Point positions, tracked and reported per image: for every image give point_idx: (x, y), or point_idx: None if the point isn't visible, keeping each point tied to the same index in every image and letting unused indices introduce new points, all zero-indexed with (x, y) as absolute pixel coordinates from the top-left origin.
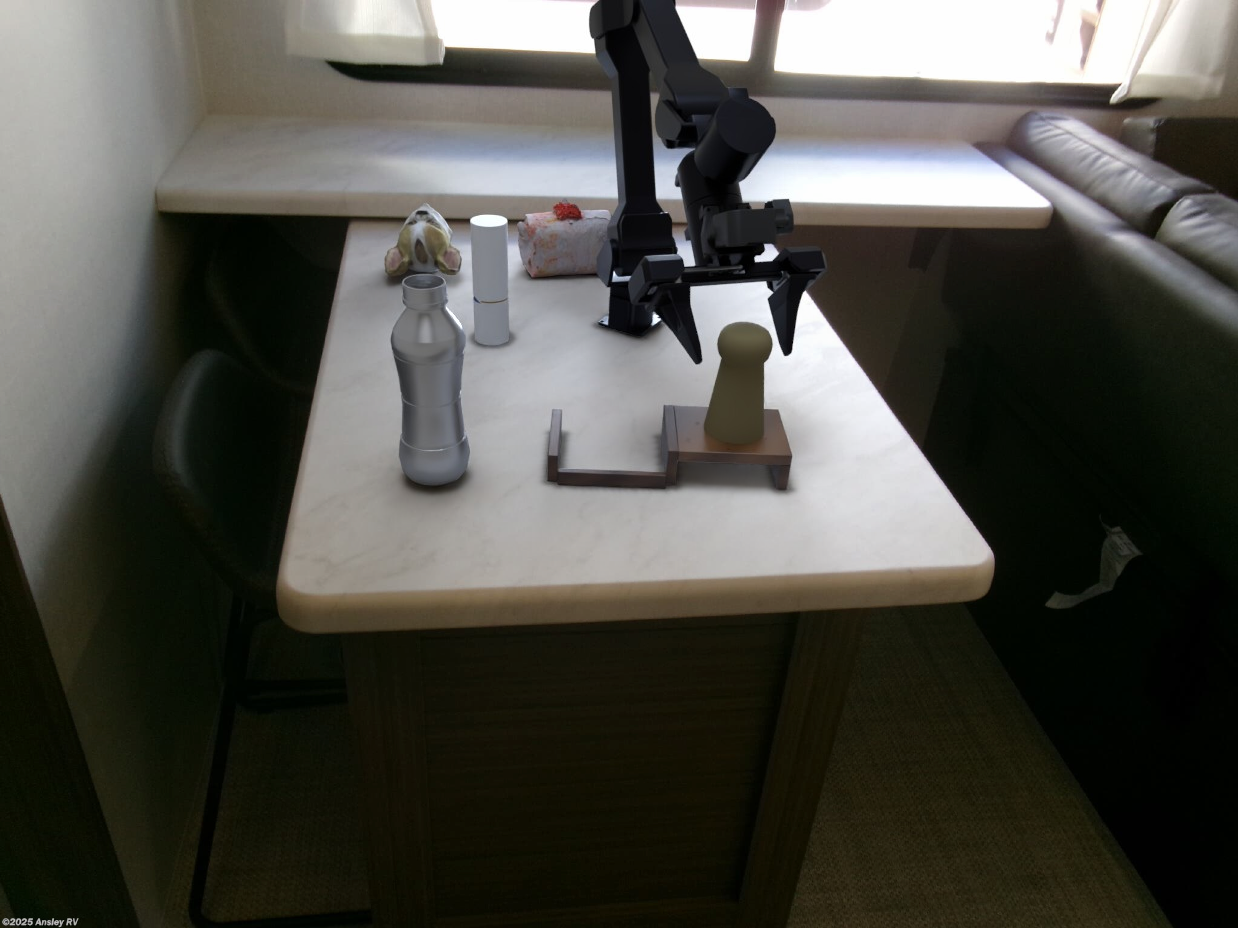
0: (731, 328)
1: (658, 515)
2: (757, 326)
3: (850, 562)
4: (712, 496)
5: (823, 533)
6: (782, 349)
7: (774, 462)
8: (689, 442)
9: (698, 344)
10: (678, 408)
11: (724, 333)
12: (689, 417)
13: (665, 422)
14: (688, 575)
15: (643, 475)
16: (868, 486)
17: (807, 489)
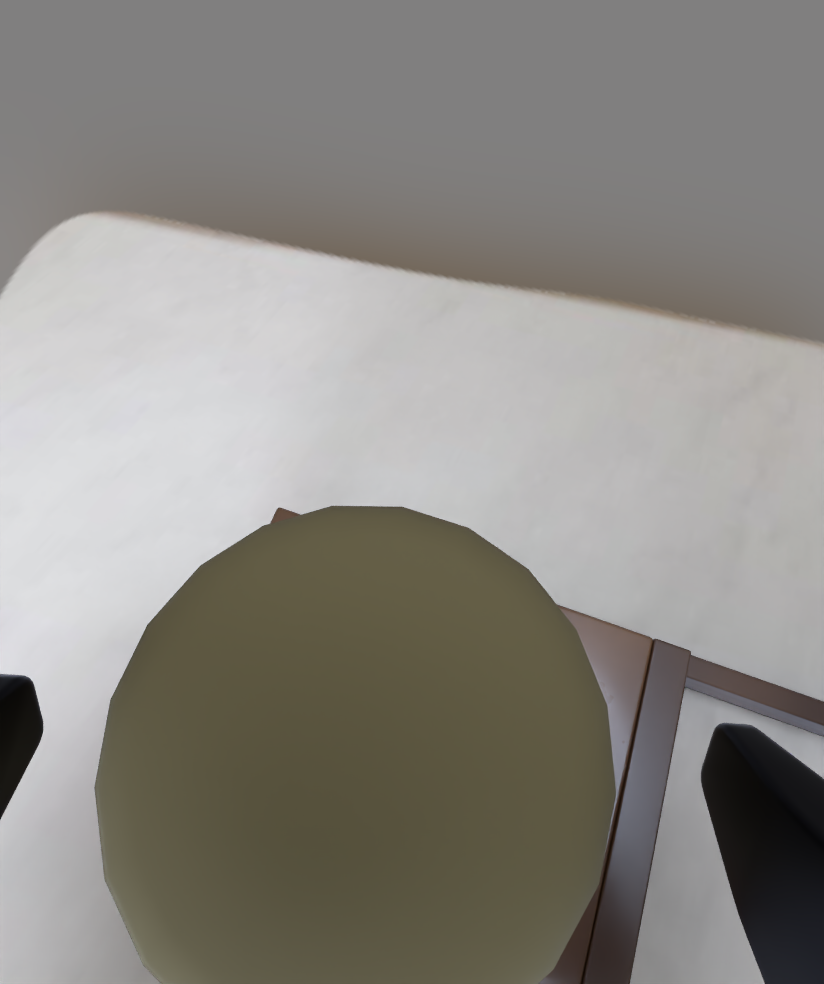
0: (519, 806)
1: (691, 536)
2: (207, 760)
3: (321, 276)
4: None
5: (317, 367)
6: (12, 776)
7: None
8: (598, 683)
9: (810, 813)
10: None
11: (600, 779)
12: None
13: (649, 873)
14: (675, 328)
15: (731, 669)
16: (74, 498)
17: (243, 532)
